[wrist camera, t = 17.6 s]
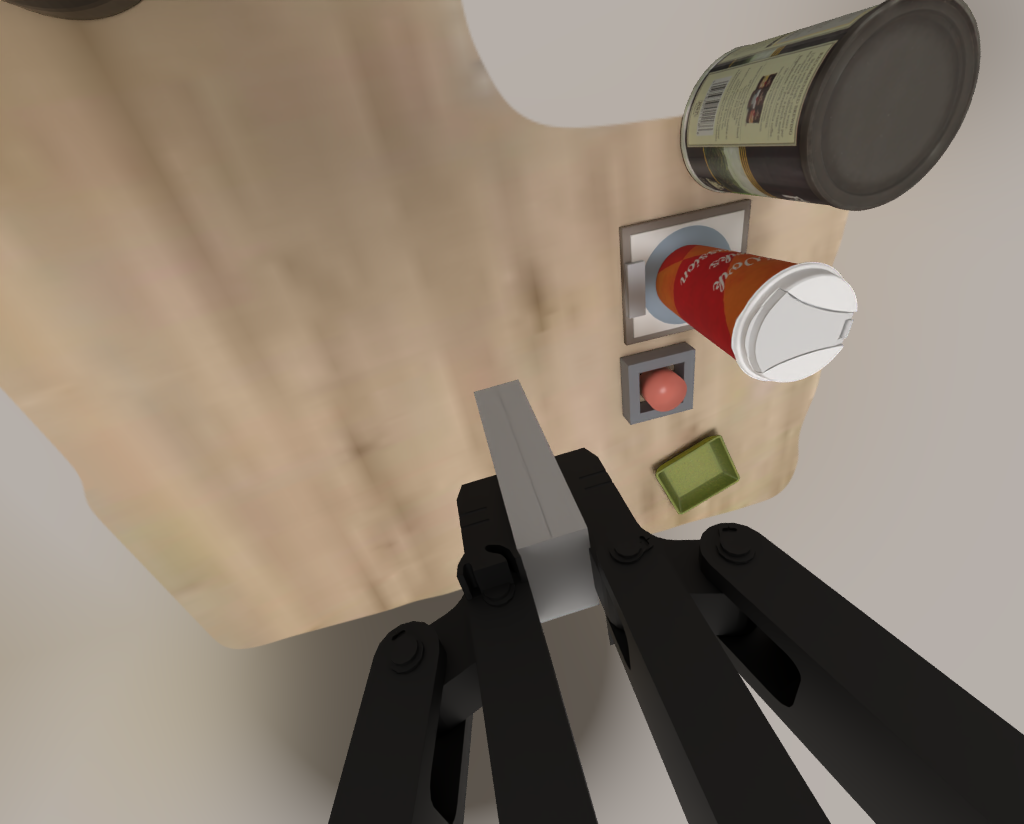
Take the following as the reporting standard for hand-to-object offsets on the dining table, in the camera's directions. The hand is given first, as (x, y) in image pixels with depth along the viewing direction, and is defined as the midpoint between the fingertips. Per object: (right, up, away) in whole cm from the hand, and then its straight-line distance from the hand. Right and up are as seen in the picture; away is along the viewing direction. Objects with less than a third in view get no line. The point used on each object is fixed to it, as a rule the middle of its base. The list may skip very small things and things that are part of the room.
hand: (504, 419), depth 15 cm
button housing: (+15, +4, +33) cm, 36 cm away
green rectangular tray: (+22, -7, +41) cm, 47 cm away
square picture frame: (+16, +13, +28) cm, 35 cm away
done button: (+15, +3, +32) cm, 36 cm away
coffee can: (+19, +24, +22) cm, 38 cm away
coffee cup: (+16, +13, +27) cm, 34 cm away
